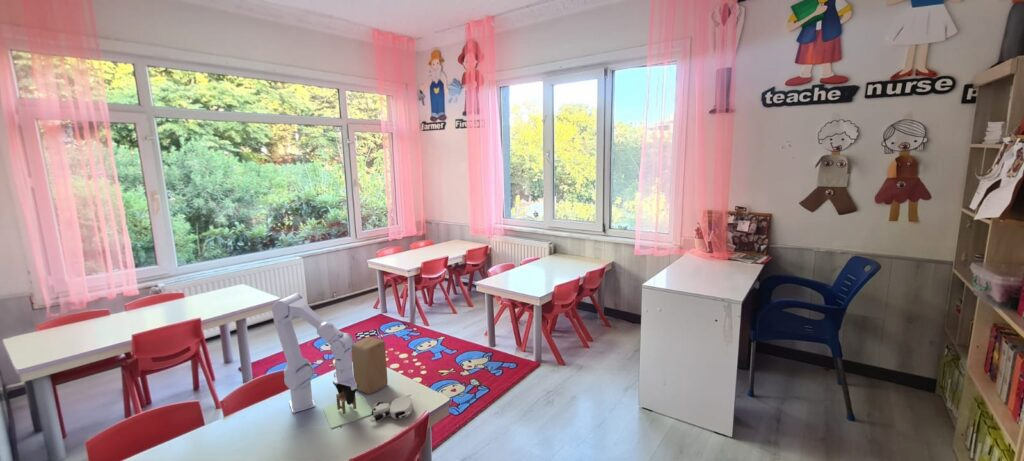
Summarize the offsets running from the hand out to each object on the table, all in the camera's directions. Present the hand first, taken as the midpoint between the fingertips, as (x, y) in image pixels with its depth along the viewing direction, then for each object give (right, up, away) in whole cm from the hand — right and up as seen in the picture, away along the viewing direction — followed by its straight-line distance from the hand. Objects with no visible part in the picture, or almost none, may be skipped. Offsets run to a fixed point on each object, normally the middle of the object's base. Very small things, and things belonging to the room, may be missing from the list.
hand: (346, 400), depth 159 cm
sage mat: (0, -5, +1) cm, 5 cm away
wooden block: (+3, -2, +18) cm, 18 cm away
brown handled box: (0, -3, 0) cm, 3 cm away
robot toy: (+18, -5, -1) cm, 19 cm away
